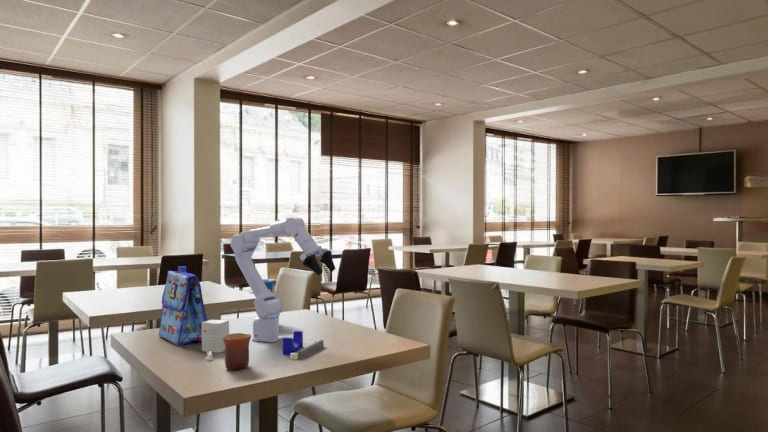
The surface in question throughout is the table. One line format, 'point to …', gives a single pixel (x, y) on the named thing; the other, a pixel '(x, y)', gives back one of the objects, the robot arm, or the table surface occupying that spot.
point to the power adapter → (209, 356)
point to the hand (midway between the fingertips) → (327, 271)
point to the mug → (236, 351)
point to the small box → (214, 335)
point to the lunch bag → (182, 308)
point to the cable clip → (293, 343)
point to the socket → (307, 350)
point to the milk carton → (270, 284)
